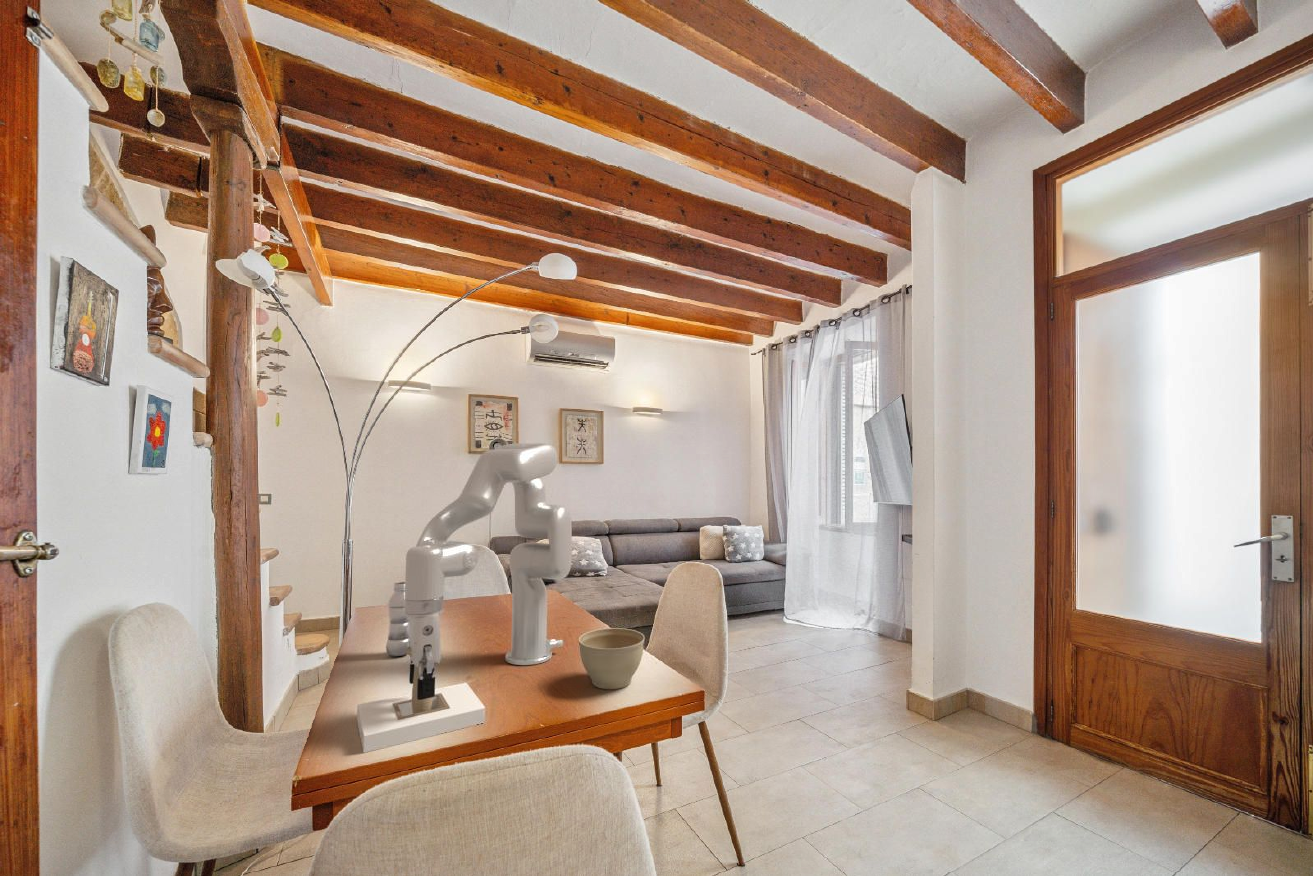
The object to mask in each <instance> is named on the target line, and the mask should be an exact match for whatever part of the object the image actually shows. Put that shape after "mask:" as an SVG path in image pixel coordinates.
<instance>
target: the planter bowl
mask: <svg viewBox="0 0 1313 876" xmlns="http://www.w3.org/2000/svg"><path fill="white" fill-rule="evenodd" d="M578 644H579V654H580V655H579V656H580V660H581V662H582V665H583V667H584V670H585V671H586V673H587V674H588V676H589V677H590V679H591V682H592V683H591V684H592V685H593V686H594V687H597V688H599V689H603V690H617V689H623V688H625V687H627V686H629V685H630V684H631V683H632V678H633V676H634V675H635V673H636V672H637V670H638V668H639V666H640V664H641V660H642V658H643V653H644V644H645V635H644V634H643V633H642V632H639V631H637V630H635V629H634V630H633V629H630V628H629V629H628V628H619V627H615V628H614V627H612V628H611V627H610V628H600V629H594V630H591V631H587V632H585V633H583V634H582V635H580V636H579V637H578Z"/></svg>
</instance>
